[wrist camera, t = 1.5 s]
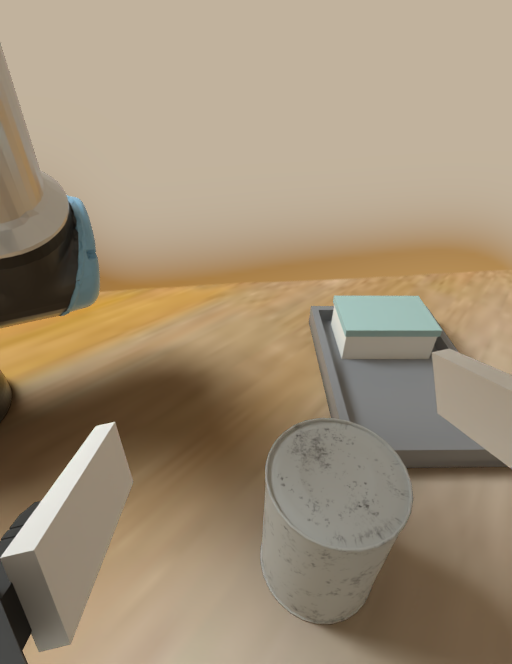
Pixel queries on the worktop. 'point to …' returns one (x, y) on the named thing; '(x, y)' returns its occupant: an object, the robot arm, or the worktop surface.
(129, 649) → the worktop surface
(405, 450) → the tote tray
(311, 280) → the worktop surface
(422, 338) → the teal sponge
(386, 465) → the speckled grey can
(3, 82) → the robot arm
